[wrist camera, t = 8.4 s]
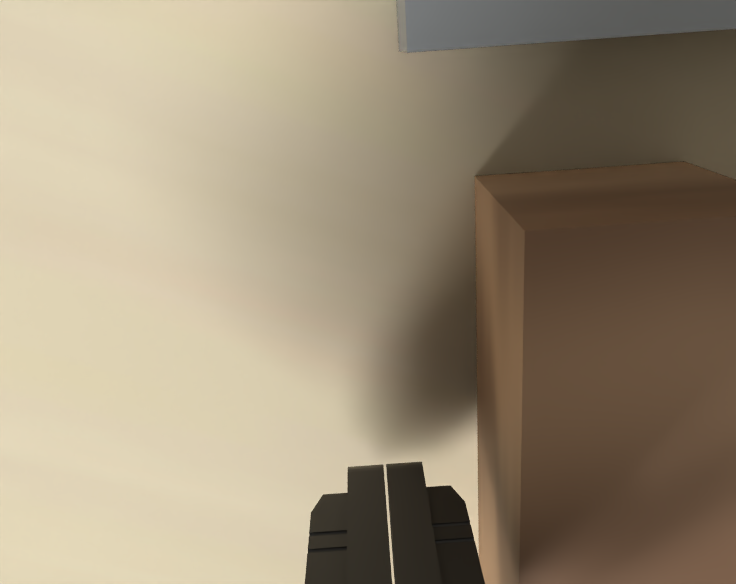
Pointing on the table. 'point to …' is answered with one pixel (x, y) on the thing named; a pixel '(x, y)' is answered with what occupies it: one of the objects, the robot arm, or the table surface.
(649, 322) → the t block
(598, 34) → the bay frame
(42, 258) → the table surface
